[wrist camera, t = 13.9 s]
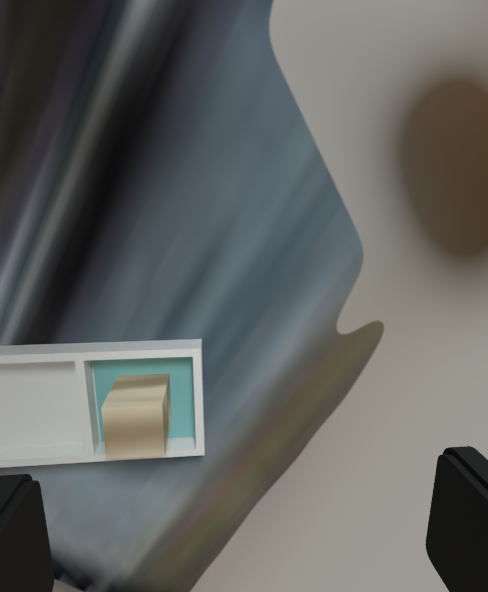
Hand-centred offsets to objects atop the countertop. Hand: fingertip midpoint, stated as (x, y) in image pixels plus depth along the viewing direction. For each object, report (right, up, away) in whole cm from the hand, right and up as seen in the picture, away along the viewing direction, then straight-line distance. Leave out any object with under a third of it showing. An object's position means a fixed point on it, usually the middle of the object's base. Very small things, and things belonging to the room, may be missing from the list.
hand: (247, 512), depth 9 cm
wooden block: (-10, -5, +29) cm, 31 cm away
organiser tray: (-16, -5, +29) cm, 33 cm away
